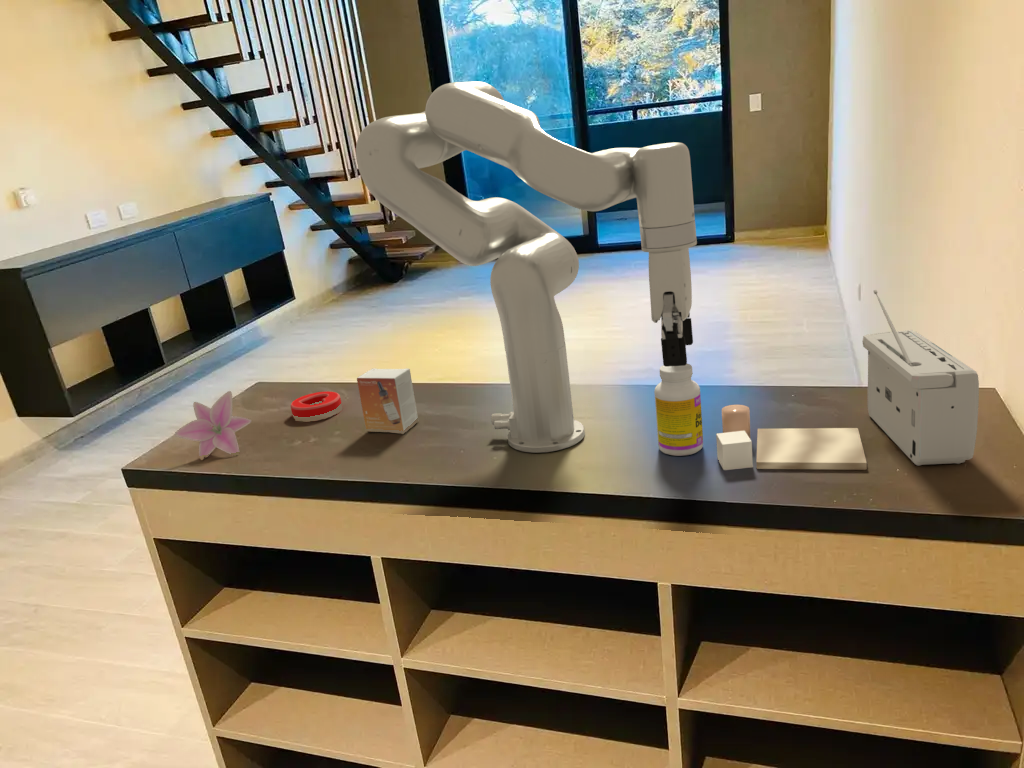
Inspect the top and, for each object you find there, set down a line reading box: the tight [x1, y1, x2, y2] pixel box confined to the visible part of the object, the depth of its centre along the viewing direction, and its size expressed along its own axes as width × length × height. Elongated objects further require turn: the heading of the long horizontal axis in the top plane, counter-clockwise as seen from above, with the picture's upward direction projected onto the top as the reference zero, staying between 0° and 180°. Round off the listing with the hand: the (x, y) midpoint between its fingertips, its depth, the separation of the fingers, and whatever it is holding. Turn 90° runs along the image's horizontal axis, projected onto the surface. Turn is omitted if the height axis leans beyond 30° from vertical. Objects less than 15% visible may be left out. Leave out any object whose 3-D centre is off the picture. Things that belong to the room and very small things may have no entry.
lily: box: [173, 390, 252, 457], centre depth 146 cm, size 12×12×10 cm
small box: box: [356, 368, 419, 431], centre depth 144 cm, size 8×6×10 cm
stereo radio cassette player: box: [862, 289, 980, 467], centre depth 112 cm, size 21×8×20 cm, turn 176°
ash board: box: [755, 427, 868, 471], centre depth 115 cm, size 14×12×1 cm
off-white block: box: [715, 431, 754, 471], centre depth 114 cm, size 4×4×4 cm
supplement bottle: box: [653, 363, 704, 457], centre depth 120 cm, size 7×7×13 cm
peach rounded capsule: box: [721, 404, 752, 441], centre depth 121 cm, size 4×4×5 cm
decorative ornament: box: [290, 390, 342, 417], centre depth 159 cm, size 10×10×3 cm
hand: (678, 354), depth 117 cm, fingers open, 9 cm apart
